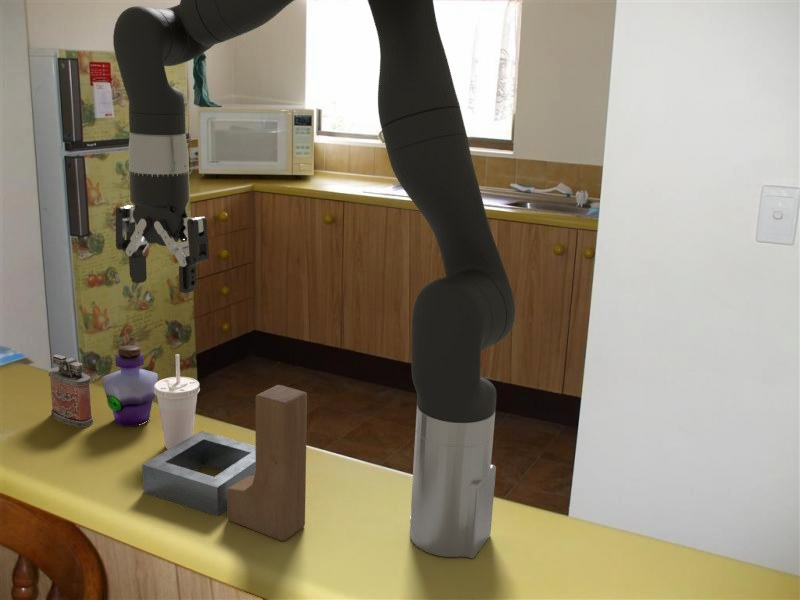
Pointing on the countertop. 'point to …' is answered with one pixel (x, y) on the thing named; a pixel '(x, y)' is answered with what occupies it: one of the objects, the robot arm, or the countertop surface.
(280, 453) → the wooden block
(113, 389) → the potion bottle
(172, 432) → the smoothie
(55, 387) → the lighter
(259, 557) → the countertop surface
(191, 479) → the frame
